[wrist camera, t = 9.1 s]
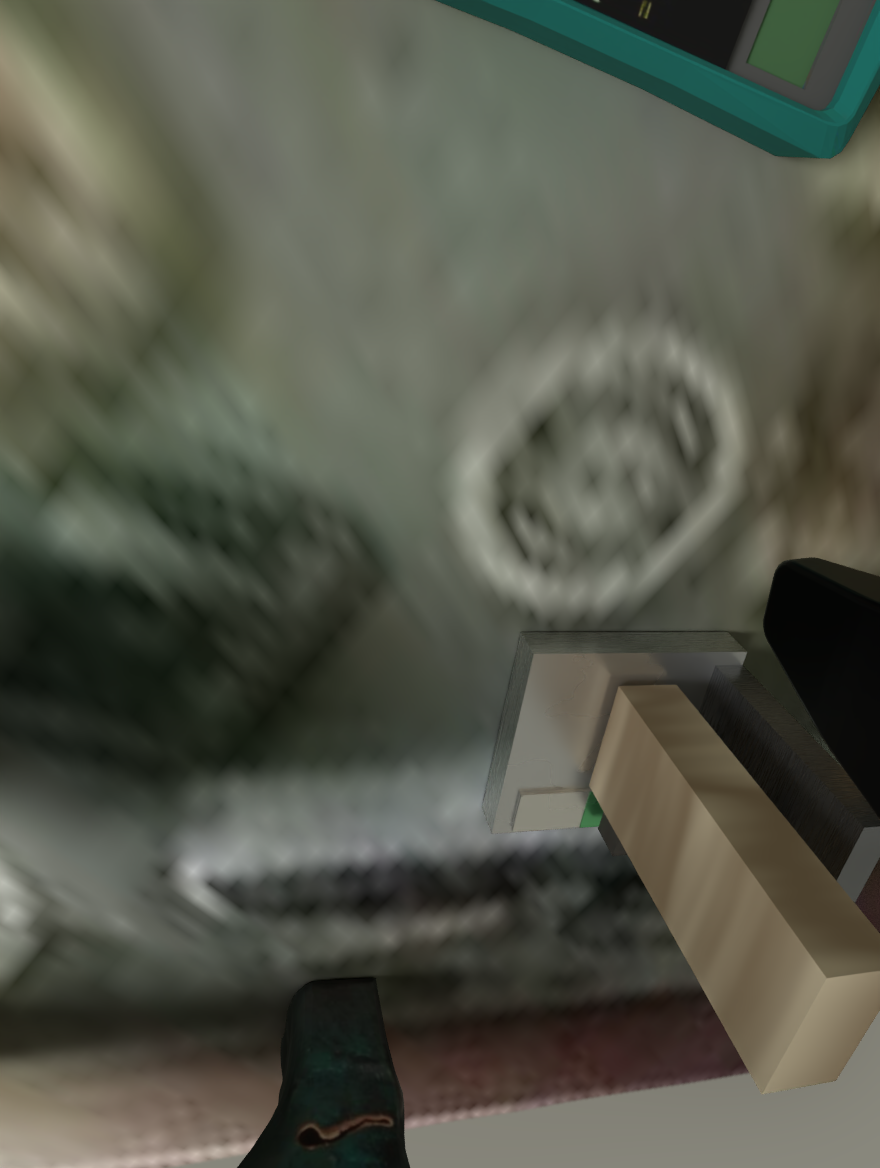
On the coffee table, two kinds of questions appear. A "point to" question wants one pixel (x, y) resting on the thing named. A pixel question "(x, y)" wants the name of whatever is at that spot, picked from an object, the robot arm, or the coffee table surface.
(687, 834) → the light brown wooden block
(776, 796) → the gauge base
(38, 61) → the coffee table surface
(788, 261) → the coffee table surface
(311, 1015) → the green animal figurine
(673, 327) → the coffee table surface
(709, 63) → the digital multimeter
